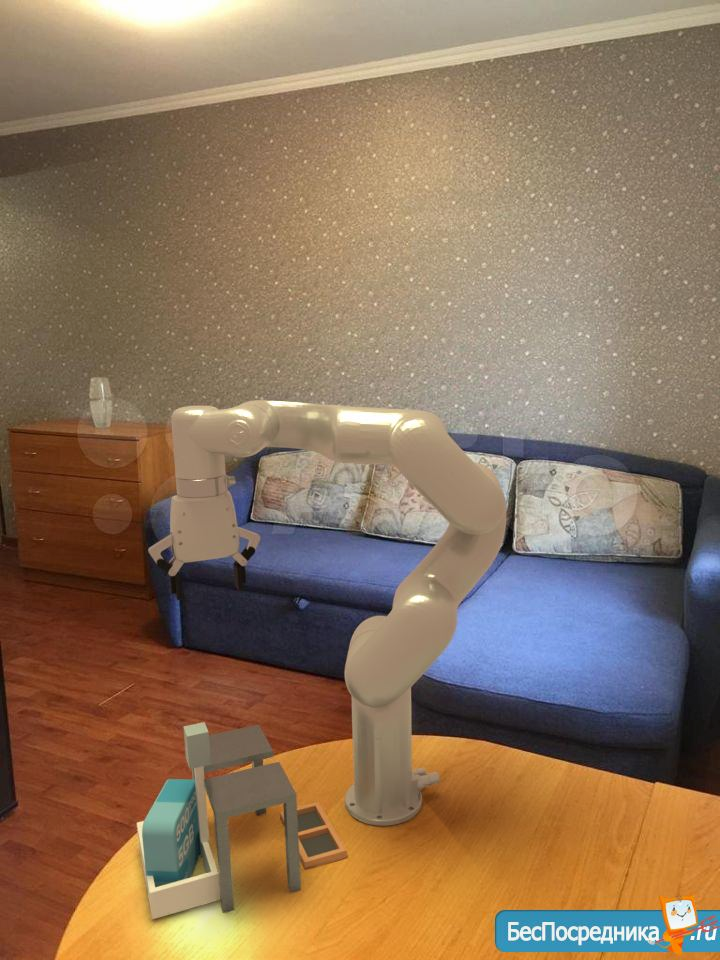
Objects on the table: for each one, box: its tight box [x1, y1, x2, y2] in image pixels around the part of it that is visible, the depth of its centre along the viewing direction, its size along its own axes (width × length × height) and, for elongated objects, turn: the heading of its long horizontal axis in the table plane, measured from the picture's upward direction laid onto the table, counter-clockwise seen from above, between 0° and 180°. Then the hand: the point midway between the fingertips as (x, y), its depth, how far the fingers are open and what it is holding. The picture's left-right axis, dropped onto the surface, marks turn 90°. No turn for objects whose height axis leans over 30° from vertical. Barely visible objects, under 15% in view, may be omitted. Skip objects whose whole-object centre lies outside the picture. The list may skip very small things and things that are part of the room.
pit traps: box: [279, 801, 348, 870], centre depth 120 cm, size 6×13×1 cm, turn 22°
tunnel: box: [191, 724, 302, 914], centre depth 115 cm, size 11×20×15 cm, turn 22°
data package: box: [142, 778, 201, 892], centre depth 111 cm, size 12×4×12 cm, turn 175°
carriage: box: [136, 721, 220, 920], centre depth 111 cm, size 10×16×22 cm, turn 22°
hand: (209, 592), depth 123 cm, fingers open, 9 cm apart
